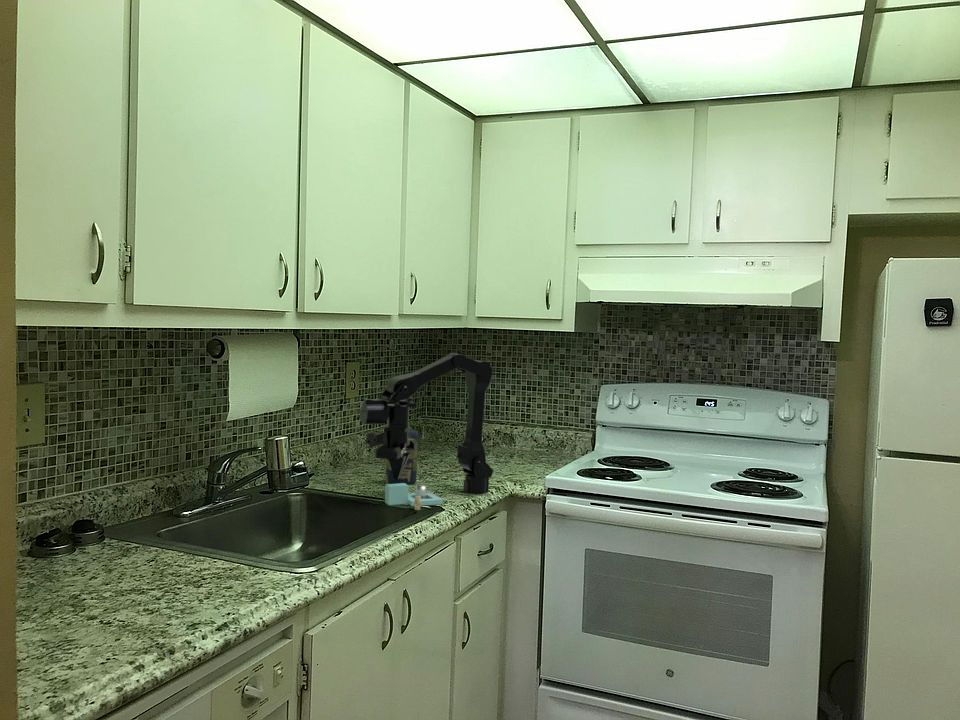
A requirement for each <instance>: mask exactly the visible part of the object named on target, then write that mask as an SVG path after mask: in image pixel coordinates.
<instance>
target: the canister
mask: <svg viewBox="0 0 960 720" xmlns="http://www.w3.org/2000/svg"><path fill="white" fill-rule="evenodd" d="M408 439H415V440H416V441H417V442H418V443H419V432H418V431H417V430H415V429H414V428H413V429H410V430H409V431H408ZM405 450H406V453H411V455H410V456H409V458H408V460H407V462H406V464H405V466H404V468H403V470H402V473H401V475H400V477H399V479H397V480H396V479H394V477H393V473H392V470H391V466H390V463H389V461H388V460H387V459H385V484H398V483H405V484H407V485H409V486H413V485H415V484H416V483H417V474H418V473H417V471H418V450H419V449H416V450H413V449H412V448H405Z"/></svg>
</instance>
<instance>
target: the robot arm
mask: <svg viewBox="0 0 960 720" xmlns="http://www.w3.org/2000/svg"><path fill="white" fill-rule="evenodd" d="M455 369H456V370H457V371H459V372H462V373H464V377H465V382H466V383H465V384H466V386H467V389H468V397H467V399H468V400H467V414H466V426H465V427H466V428H465V439H464V441H463V443H462V444H457V454H456V456H455V457H456V459H458V460H457V461H458V465H459V466H460V467H461V468H462V471H463V473H464V474H465V478H464V480H463V490H462V491H463V493H465V494H468V495H471V494H473V495H484V494H486V493H489V490H490V489H489V488H490V484H489V483H490V478H492V476H493V474H494V469H492V468H491V466H490V465H489V464H488V463H487V459H486V458H487V457H486V450H485V447H484V443H483V440H482V439H483V427H484V413H485V402H486V401H485V400H486V393H487V390H488V388H489V386H490V385H491V382H492V377H493V366H492V365H491V364H490V363H489V362H488V361H483V360H477V359H472V358H469V357H465V356H463V355H462V354H460V353H457V352H456V353H454V352H450V353H448V354H447V355H445V356H444V357H442V358H440V359H437V360H436V361H434V362H432V363H429V364H427V365H426V366H424V367H421V368H419V369H417V370H416V371H414V372H408V373H404V374H400V375H397V376H393V377H391V378H389V379H388V380H387V381H386V384H385V389H384V390H383V391H382V392H381V394H380V395H379V396H378V398H377V399H370V398H364V399H363V400H362V401H363V403H362V404H361V408H360V409H359V418H360V419H359V420H360V423H361V424H362V425H381V424H382V425H383V424H385V423H386V422H387V426H384V429H383V431H382V432H380V433H376V432H375V431H373V432H369V433H367V436H366V437H365V444H366V445H368V447H369V449H373V448H374V447H377V446H379V447H377V448H376V450H375V451H374V458H376V459H385V460H386V459H387V460H388V461H389V463H390V466H391V470H392V473H393V477H394V479H396V480H397V479H399V477H400V475H401V473H402V470H403V468H404V466H405V464H406V462H407V460H408V458H409V456H410V455H411V453H406V450H405V448H412V449H413V450H416V449H418V448H419V447H418V446H419V441H418V442H417V441H416V440H415V439H408V431H409V430H410V429H411V426H410V425H409V421H410V419H409V417H410V408H416V407H417V406H418V405H417V404H416V403H415V402H414V401H413V400H412V398H411V397H412V396H413V395H414V394H416V393H417V392H418V391H419V390H420V389H421V388H422V387H423V386H424V385H425V384H427V383H430V382H432V381H433V380H435V379H438V378H439V377H441V376H443V375H446V374H447V373H449V372H452V371H453V370H455ZM380 445H381V446H380ZM418 450H419V449H418Z"/></svg>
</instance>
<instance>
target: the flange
mask: <svg viewBox="0 0 960 720" xmlns="http://www.w3.org/2000/svg"><path fill="white" fill-rule="evenodd" d="M409 486H410V485H407V484H405V483H398V484H387V483H385V488H384V489H385V491H384V492H385V493H384V503H385V504H386V505H388V506H395V505H409V506H410V507H415V496H416V492H415V493H409ZM443 504H444V499H443V498H441V497H439V496H438V495H436V494H434V493H432V492H428V491H427V499H421V507H422V506H433V505H434V506H436V505H443Z"/></svg>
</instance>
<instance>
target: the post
mask: <svg viewBox="0 0 960 720" xmlns="http://www.w3.org/2000/svg"><path fill="white" fill-rule="evenodd" d="M415 486H416V489H415V493H416V496H421V499H427V492H428V485H426V484H425V485H424V484H416V485H415Z"/></svg>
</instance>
